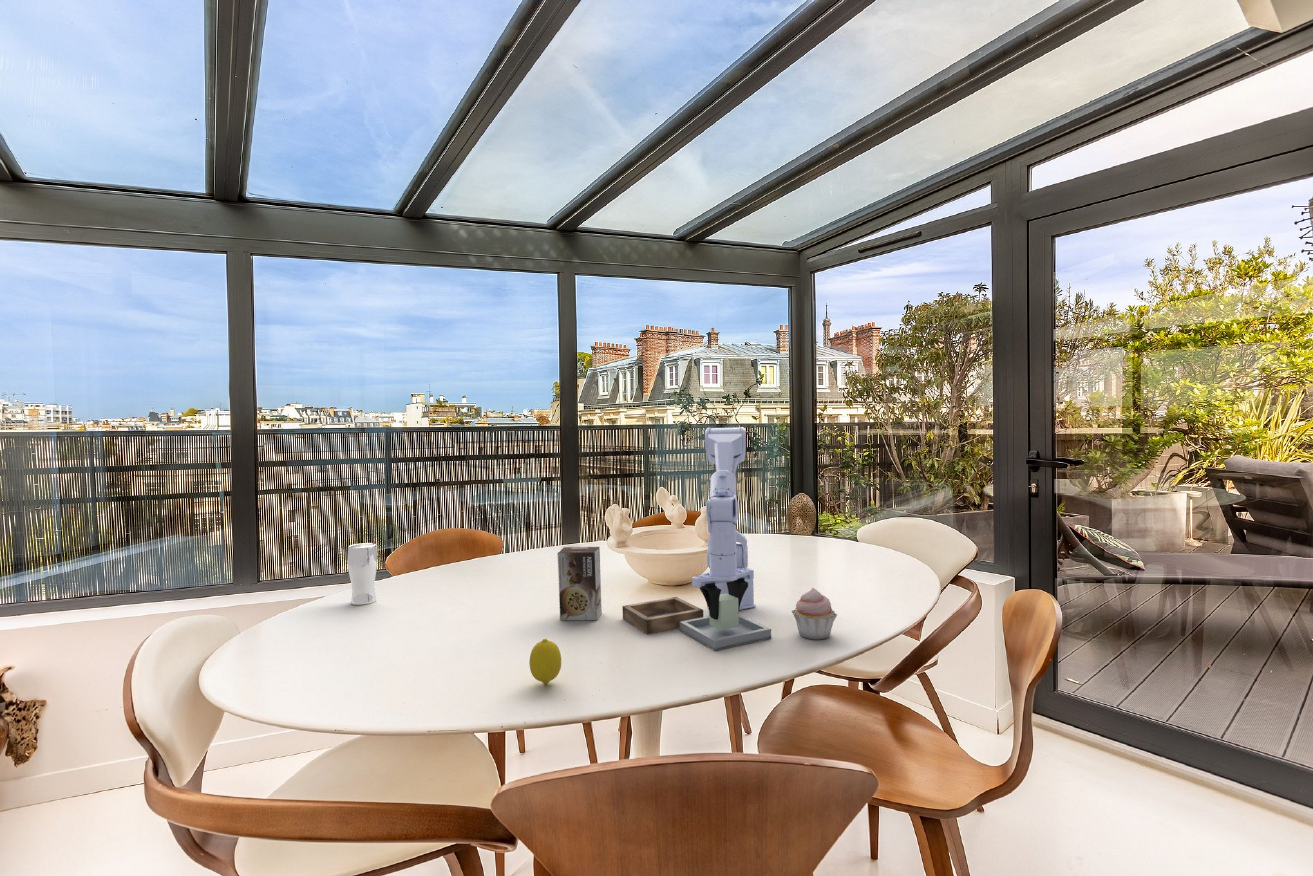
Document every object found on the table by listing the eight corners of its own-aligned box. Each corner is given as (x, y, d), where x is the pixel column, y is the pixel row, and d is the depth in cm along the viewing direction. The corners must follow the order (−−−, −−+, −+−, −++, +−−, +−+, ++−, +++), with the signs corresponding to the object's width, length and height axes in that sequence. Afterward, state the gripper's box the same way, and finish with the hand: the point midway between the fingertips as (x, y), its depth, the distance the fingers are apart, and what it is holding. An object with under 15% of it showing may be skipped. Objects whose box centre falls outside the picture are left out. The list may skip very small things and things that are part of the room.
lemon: (531, 678, 111) (530, 634, 111) (563, 677, 111) (561, 633, 111) (528, 692, 105) (527, 645, 105) (560, 690, 106) (559, 643, 106)
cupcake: (825, 626, 136) (824, 581, 135) (845, 640, 126) (844, 592, 126) (784, 629, 134) (784, 583, 134) (802, 644, 125) (801, 595, 125)
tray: (732, 620, 141) (732, 611, 141) (771, 638, 129) (771, 628, 129) (679, 630, 135) (679, 621, 135) (714, 651, 122) (714, 641, 122)
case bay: (676, 609, 151) (676, 596, 151) (703, 623, 140) (703, 609, 140) (622, 618, 144) (622, 606, 144) (646, 634, 133) (646, 620, 133)
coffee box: (602, 612, 149) (600, 546, 149) (597, 621, 143) (595, 551, 142) (565, 612, 150) (563, 546, 150) (558, 620, 144) (557, 551, 143)
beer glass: (370, 605, 159) (368, 547, 159) (343, 606, 159) (341, 548, 159) (382, 598, 166) (381, 542, 166) (357, 598, 166) (355, 543, 166)
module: (726, 620, 135) (726, 593, 135) (738, 626, 131) (738, 598, 131) (709, 624, 133) (708, 596, 133) (721, 630, 129) (720, 601, 129)
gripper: (704, 560, 124) (705, 627, 125) (761, 552, 131) (763, 615, 131) (686, 554, 131) (687, 618, 131) (742, 546, 137) (743, 607, 138)
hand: (724, 616), depth 132 cm, fingers closed on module, 4 cm apart
